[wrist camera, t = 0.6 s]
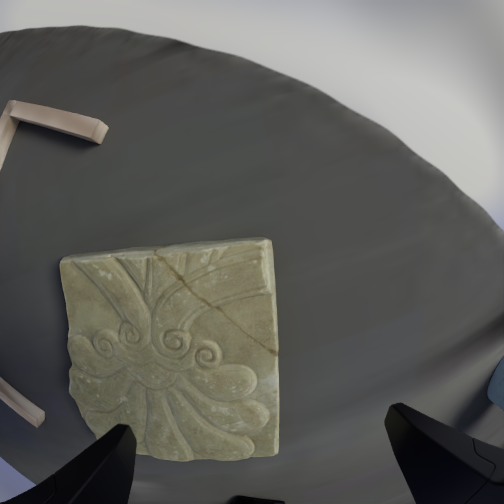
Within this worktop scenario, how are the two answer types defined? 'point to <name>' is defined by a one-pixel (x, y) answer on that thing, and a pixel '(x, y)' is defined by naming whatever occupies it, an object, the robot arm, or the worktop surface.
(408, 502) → the worktop surface
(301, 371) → the worktop surface
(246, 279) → the decorative tile
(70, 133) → the frame
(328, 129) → the worktop surface
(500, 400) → the light blue cup
